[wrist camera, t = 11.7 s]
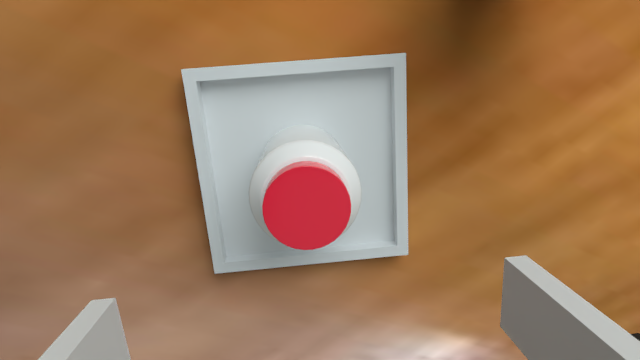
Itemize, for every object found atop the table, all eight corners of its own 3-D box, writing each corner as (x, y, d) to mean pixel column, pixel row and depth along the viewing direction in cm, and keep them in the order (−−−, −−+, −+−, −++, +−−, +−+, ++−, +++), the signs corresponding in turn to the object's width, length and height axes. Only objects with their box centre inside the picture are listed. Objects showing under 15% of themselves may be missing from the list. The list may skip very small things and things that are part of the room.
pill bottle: (363, 160, 34) (395, 198, 23) (309, 224, 35) (316, 288, 25) (295, 106, 32) (296, 120, 22) (241, 175, 33) (217, 220, 23)
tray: (218, 264, 36) (214, 273, 34) (187, 69, 31) (181, 69, 30) (402, 246, 37) (408, 254, 35) (399, 54, 32) (405, 52, 30)
